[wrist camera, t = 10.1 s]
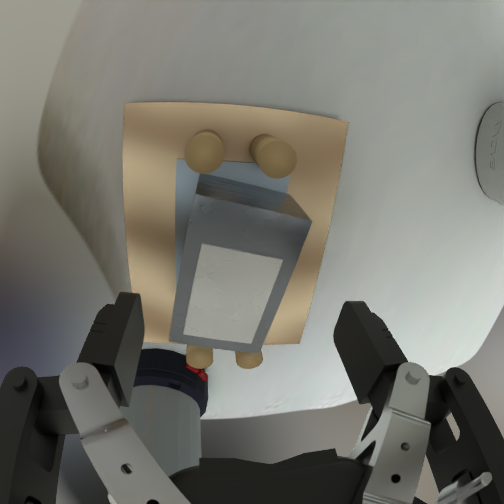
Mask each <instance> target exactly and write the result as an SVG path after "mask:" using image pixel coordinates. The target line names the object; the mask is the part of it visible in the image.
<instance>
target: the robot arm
mask: <svg viewBox="0 0 504 504" xmlns="http://www.w3.org/2000/svg"><path fill="white" fill-rule="evenodd" d="M476 167H477V174H478V178H479V182H480V185H481V187H482V190H483V191H484V192H485V194H486V195H487V196H488V197H489V198H490V199H492V200H494V201H496V202H498V203H499V204H501V205H503V206H504V103H503V102H502V103H496V104H494V105H492V106H491V107H490V108H489V109H488V110H487V112H486V114H485V115H484V117H483V119H482V122H481V125H480V128H479V132H478V137H477V145H476ZM144 334H145V325H144V318H143V310H142V303H141V296H140V294H139V293H128V292H120V293H119V295H118V298H117V300H116V302H115V305H113V304H107V305H105V307H103V308H102V309H101V310H100V311H99V312H98V314H97V316H96V318H95V320H94V324H93V325H92V327H91V329H90V332H89V334H88V336H87V338H86V341H85V343H84V346H83V348H82V350H81V353H80V355H79V358H78V360H77V362H76V363H74V364H71V365H69V366H68V367H66V368H65V369H64V370H63V371H62V373H61V375H59V376H52V377H37V376H36V374H35V373H34V371H33V370H31V369H30V368H28V367H17V368H14V369H12V370H11V371H10V372H8V373H7V375H6V376H5V378H4V380H3V383H2V385H1V388H0V504H56V494H57V485H58V477H59V469H60V463H61V456H62V451H63V445H64V439H65V435H66V434H78V433H80V435H81V442H82V444H83V447H84V449H85V451H86V453H87V455H88V456H89V458H90V460H91V462H92V464H93V466H94V468H95V469H96V471H97V473H98V474H99V476H100V478H101V480H102V481H103V483H104V485H105V486H106V488H107V489H108V491H109V493H110V494H111V496H112V497H113V499H114V500H115V502H116V503H117V504H427V503H425V502H423V501H422V500H420V499H418V498H416V497H415V493H416V489H417V486H418V482H419V478H420V474H421V471H422V467H423V463H424V458H425V454H426V456H427V459H428V461H429V464H430V467H431V470H432V473H433V476H434V478H435V482H436V485H437V488H438V491H439V497H438V501H436V502H435V504H504V439H503V437H502V434H501V432H500V430H499V429H498V426H497V424H496V423H495V421H494V419H493V417H492V415H491V413H490V411H489V409H488V407H487V406H486V404H485V402H484V400H483V398H482V397H481V395H480V393H479V391H478V390H477V388H476V386H475V384H474V383H473V381H472V379H471V378H470V376H469V375H468V374H467V373H466V372H465V371H464V370H462V369H460V368H456V367H453V368H450V369H448V370H447V372H446V373H445V374H444V376H432V375H428V373H427V371H426V370H425V369H424V368H423V367H422V366H420V365H418V364H416V363H412V362H408V360H407V359H406V357H405V355H404V354H403V352H402V350H401V349H400V347H399V346H398V344H397V342H396V341H395V339H394V338H393V336H392V334H391V333H390V331H388V328H387V326H386V325H385V323H384V321H383V320H382V319H381V318H379V317H378V316H377V315H376V314H375V313H371V311H370V310H369V308H368V307H367V305H366V303H365V302H364V301H346V302H345V303H344V304H343V307H342V310H341V312H340V315H339V318H338V321H337V323H336V326H335V329H334V335H333V337H334V343H335V346H336V348H337V350H338V353H339V355H340V358H341V360H342V362H343V365H344V367H345V370H346V372H347V374H348V377H349V379H350V382H351V384H352V387H353V389H354V392H355V394H356V396H357V399H358V401H359V404H365V403H371V405H372V407H371V409H370V410H369V412H368V415H367V418H366V420H365V423H364V426H363V428H362V431H361V433H360V436H359V438H358V441H357V443H356V445H355V447H354V449H353V451H352V452H351V453H350V455H349V456H348V457H342V456H337V453H336V450H335V448H334V449H329V450H322V451H316V452H309V453H303V454H301V455H298V456H295V457H292V458H290V459H287V460H284V461H281V462H278V463H274V464H265V463H258V462H252V461H246V460H240V459H235V458H199V465H197V466H192V467H189V468H185V469H182V470H180V471H178V472H175V473H174V474H172V475H170V476H169V477H168V476H167V475H166V474H165V473H164V471H163V470H162V469H161V467H160V466H159V465H158V464H157V462H156V461H155V460H154V458H153V457H152V455H151V454H150V453H149V451H148V450H147V449H146V447H145V446H144V444H143V443H142V441H141V440H140V438H139V437H138V436H137V434H136V433H135V431H134V430H133V428H132V426H131V425H130V424H129V422H128V421H127V420H126V419H125V418H124V417H123V415H122V413H121V412H120V410H119V409H120V406H123V407H129V405H130V400H131V395H132V390H133V385H134V380H135V376H136V371H137V366H138V362H139V358H140V353H141V349H142V345H143V341H144ZM450 413H452V415H453V417H454V419H455V421H456V423H457V425H458V427H459V429H460V436H459V439H458V440H457V441H456V439H455V437H454V435H453V432H452V430H451V428H450V426H449V424H448V421H447V419H446V417H447V416H448V415H449V414H450Z"/></svg>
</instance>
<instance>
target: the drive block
mask: <svg viewBox="0 0 504 504" xmlns="http://www.w3.org/2000/svg"><path fill="white" fill-rule="evenodd" d="M311 224H312V220H311V219H310V218H309V217H308V215H307V214H306V213H305V212H304V210H303V209H302V208H301V207H300V206H299V204H298V203H297V202H296V201H295V200H294V198H293V197H292V196H291V195H290V194H287V193H283V192H279V191H275V190H272V189H268V188H264V187H260V186H256V185H252V184H247V183H243V182H239V181H235V180H230V179H226V178H222V177H217V176H213V175H208V174H201V173H200V175H199V179H198V183H197V187H196V192H195V196H194V201H193V205H192V210H191V214H190V219H189V224H188V229H187V234H186V239H185V244H184V249H183V254H182V259H181V265H180V270H179V276H178V282H177V288H176V294H175V300H174V306H173V313H172V320H171V327H170V334H169V341H170V342H175V343H181V344H188V345H194V346H201V347H208V348H215V349H223V350H231V351H240V352H249V353H260V350H261V348H262V346H263V343H264V341H265V339H266V336H267V334H268V332H269V329H270V327H271V325H272V322H273V320H274V317H275V315H276V313H277V310H278V308H279V305H280V303H281V301H282V298H283V296H284V293H285V291H286V288H287V286H288V283H289V281H290V278H291V276H292V273H293V271H294V268H295V266H296V263H297V261H298V258H299V255H300V253H301V250H302V248H303V245H304V242H305V240H306V237H307V235H308V232H309V229H310V227H311Z"/></svg>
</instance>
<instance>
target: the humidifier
mask: <svg viewBox="0 0 504 504" xmlns="http://www.w3.org/2000/svg"><path fill="white" fill-rule="evenodd" d="M207 401H208V375H207V374H206V373H205V371H204V370H203V369H198V368H194V367H191V366H190V365H189V364H188V363H187V361H186V356H185V355H182V354H179V353H176V352H173V351H169V350H162V349H142V350H141V353H140V358H139V362H138V366H137V371H136V376H135V380H134V385H133V390H132V395H131V400H130V405H129V407H123V406H120V409H119V410H120V412H121V413H122V415H123V417H124V418H125V419H126V420H127V421H128V422H129V424H130V425H131V426H132V428H133V430H134V431H135V433H136V434H137V436H138V437H139V438H140V440H141V441H142V443H143V444H144V446H145V447H146V449H147V450H148V451H149V453H150V454H151V455H152V457H153V458H154V460H155V461H156V462H157V464H158V465H159V466H160V467H161V469H162V470H163V471H164V473H165V474H166V475H167V476H168V477H169V476H170V475H172V474H174V473H175V472H178V471H180V470H182V469H185V468H189V467H192V466H197V465H199V458H201V434H200V417H201V416H202V415H203V414H204V413H205V411H206V407H207ZM108 494H109V495H108V498H109V501H110V503H111V504H117V503H116V502H115V500H114V499H113V497H112V496H111V494H110V493H109V491H108Z"/></svg>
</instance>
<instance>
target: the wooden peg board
mask: <svg viewBox="0 0 504 504" xmlns="http://www.w3.org/2000/svg"><path fill="white" fill-rule="evenodd" d="M348 123H349V122H347V121H342V120H337V119H332V118H327V117H322V116H317V115H311V114H305V113H299V112H293V111H286V110H279V109H271V108H262V107H253V106H243V105H231V104H216V103H194V102H145V103H124V122H123V198H124V217H125V232H126V244H127V254H128V264H129V272H130V280H131V288H132V293H139V294H140V296H141V303H142V310H143V318H144V325H145V334H144V341H143V342H155V343H173V344H181V343H175V342H170V341H169V334H170V327H171V320H172V313H173V306H174V300H175V294H176V288H177V282H178V276H179V270H180V265H181V259H182V254H183V249H184V244H185V239H186V234H187V229H188V224H189V219H190V214H191V210H192V205H193V201H194V196H195V192H196V187H197V183H198V179H199V175H200V173H201V174H208V175H213V176H217V177H222V178H226V179H230V180H235V181H239V182H243V183H247V184H252V185H256V186H260V187H264V188H268V189H272V190H275V191H279V192H283V193H287V194H290V195H291V196H292V197H293V198H294V200H295V201H296V202H297V203H298V204H299V206H300V207H301V208H302V209H303V210H304V212H305V213H306V214H307V215H308V217H309V218H310V219H311V220H312V224H311V227H310V229H309V232H308V235H307V237H306V240H305V242H304V245H303V248H302V250H301V253H300V255H299V258H298V261H297V263H296V266H295V268H294V271H293V273H292V276H291V278H290V281H289V283H288V286H287V288H286V291H285V293H284V296H283V298H282V301H281V303H280V305H279V308H278V310H277V313H276V315H275V317H274V320H273V322H272V325H271V327H270V329H269V332H268V334H267V336H266V339H265V341H264V343H263V345H274V344H299V343H300V340H301V337H302V333H303V330H304V326H305V323H306V319H307V316H308V312H309V308H310V305H311V301H312V297H313V293H314V289H315V286H316V282H317V278H318V274H319V270H320V265H321V261H322V257H323V253H324V249H325V244H326V240H327V235H328V231H329V226H330V222H331V217H332V212H333V207H334V203H335V198H336V192H337V187H338V182H339V177H340V171H341V166H342V160H343V154H344V148H345V142H346V136H347V129H348ZM235 354H236V362H237V365H238V366H240V367H241V368H245V369H251V368H255V367H257V366H259V365H260V364H261V363H262V361H263V357H262V352H261V350H260V353H249V352H240V351H235ZM186 361H187V363H188V364H189V365H190V366H191V367H194V368H198V369H202V368H207V367H209V366H210V365H211V364H212V363H213V348H208V347H201V346H194V345H188V344H187V353H186Z"/></svg>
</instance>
